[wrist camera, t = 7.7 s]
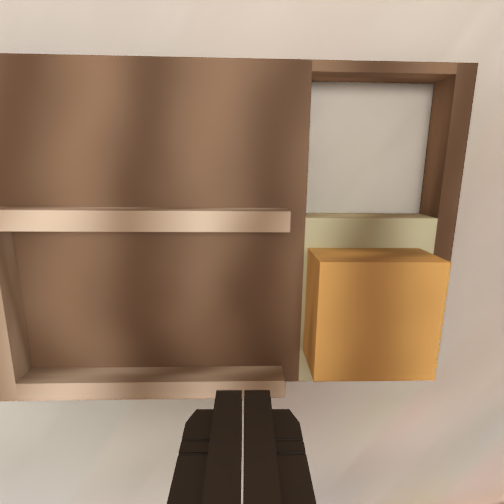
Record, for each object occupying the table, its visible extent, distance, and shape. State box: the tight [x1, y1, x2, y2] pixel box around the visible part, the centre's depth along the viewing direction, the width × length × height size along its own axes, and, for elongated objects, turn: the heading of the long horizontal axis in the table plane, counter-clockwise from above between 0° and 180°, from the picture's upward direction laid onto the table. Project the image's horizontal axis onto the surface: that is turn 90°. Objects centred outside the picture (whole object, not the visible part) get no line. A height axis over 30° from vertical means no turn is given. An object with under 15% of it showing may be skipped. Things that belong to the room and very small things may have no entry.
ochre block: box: [303, 248, 451, 382], centre depth 18 cm, size 6×6×3 cm
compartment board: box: [0, 53, 478, 401], centre depth 19 cm, size 24×17×4 cm
